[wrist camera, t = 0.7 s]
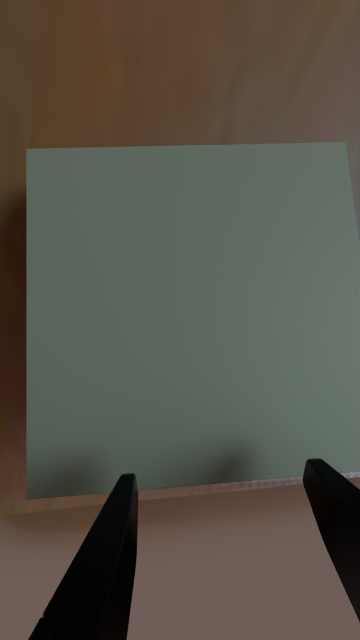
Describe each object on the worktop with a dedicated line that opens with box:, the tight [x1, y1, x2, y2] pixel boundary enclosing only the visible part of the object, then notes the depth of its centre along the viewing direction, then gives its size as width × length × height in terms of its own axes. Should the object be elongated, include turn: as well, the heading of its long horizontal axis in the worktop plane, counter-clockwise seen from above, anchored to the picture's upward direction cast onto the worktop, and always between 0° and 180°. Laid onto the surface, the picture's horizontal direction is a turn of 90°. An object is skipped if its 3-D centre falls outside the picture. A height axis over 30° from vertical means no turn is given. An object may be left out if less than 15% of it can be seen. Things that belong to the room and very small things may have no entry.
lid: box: [27, 142, 360, 499], centre depth 11 cm, size 13×13×1 cm
